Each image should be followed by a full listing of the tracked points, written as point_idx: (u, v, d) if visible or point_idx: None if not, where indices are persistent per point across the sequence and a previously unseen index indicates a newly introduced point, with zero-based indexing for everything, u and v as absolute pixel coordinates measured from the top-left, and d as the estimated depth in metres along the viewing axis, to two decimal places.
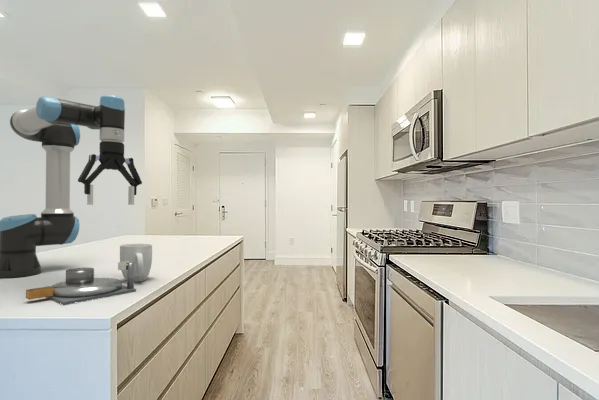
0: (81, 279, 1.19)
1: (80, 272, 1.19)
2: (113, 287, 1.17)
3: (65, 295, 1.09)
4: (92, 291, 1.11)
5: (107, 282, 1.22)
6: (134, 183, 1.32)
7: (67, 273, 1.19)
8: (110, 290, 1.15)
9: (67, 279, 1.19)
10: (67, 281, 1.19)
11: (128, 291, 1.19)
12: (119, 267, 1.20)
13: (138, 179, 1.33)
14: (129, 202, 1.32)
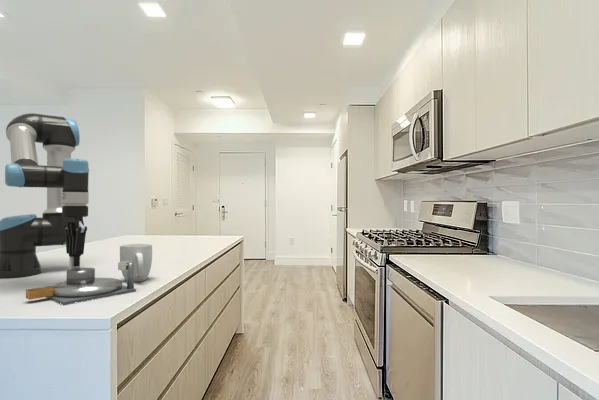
0: (82, 279, 1.19)
1: (81, 272, 1.19)
2: (113, 287, 1.17)
3: (65, 295, 1.09)
4: (92, 291, 1.11)
5: (107, 282, 1.22)
6: (72, 253, 1.23)
7: (68, 273, 1.19)
8: (110, 290, 1.15)
9: (68, 279, 1.19)
10: (68, 281, 1.19)
11: (128, 291, 1.19)
12: (119, 267, 1.20)
13: (75, 249, 1.22)
14: None
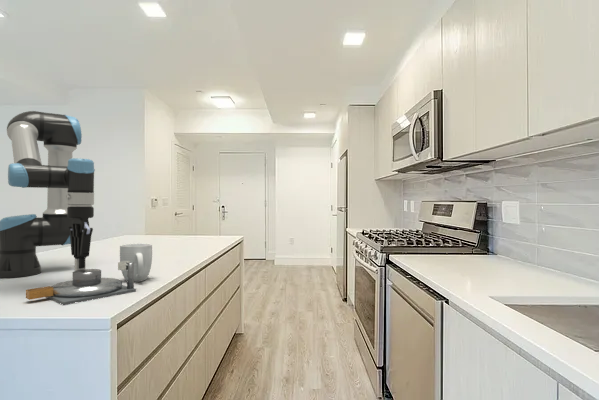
0: (89, 281, 1.17)
1: (88, 274, 1.17)
2: (113, 287, 1.17)
3: (65, 295, 1.09)
4: (92, 291, 1.11)
5: (107, 282, 1.22)
6: (77, 255, 1.21)
7: (74, 275, 1.16)
8: (110, 290, 1.15)
9: (74, 281, 1.16)
10: (74, 283, 1.16)
11: (128, 291, 1.19)
12: (119, 267, 1.20)
13: (80, 251, 1.20)
14: None
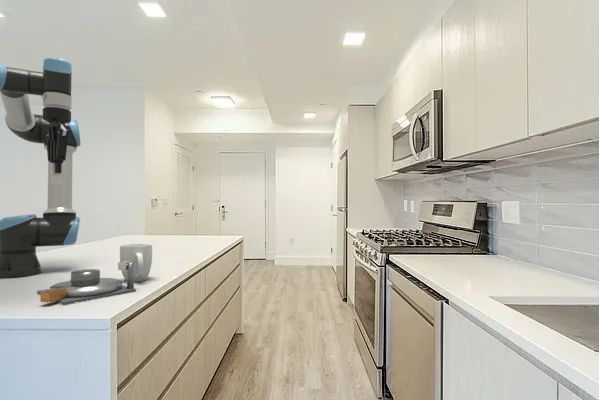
0: (94, 280, 1.18)
1: (93, 273, 1.18)
2: (121, 284, 1.22)
3: (83, 294, 1.10)
4: (109, 288, 1.15)
5: (105, 281, 1.24)
6: (53, 158, 1.16)
7: (78, 275, 1.16)
8: (120, 286, 1.20)
9: (78, 282, 1.16)
10: (78, 284, 1.16)
11: (128, 291, 1.19)
12: (119, 267, 1.20)
13: (56, 153, 1.15)
14: None
